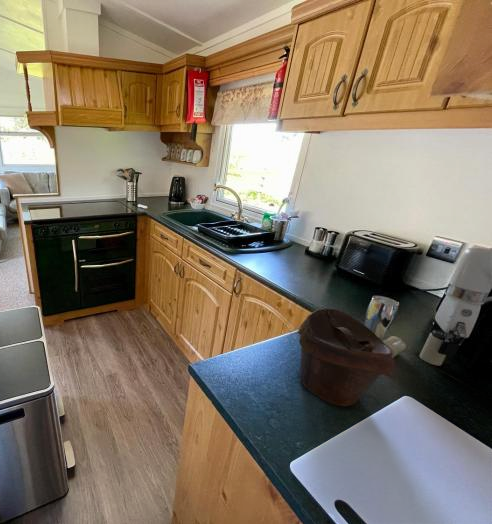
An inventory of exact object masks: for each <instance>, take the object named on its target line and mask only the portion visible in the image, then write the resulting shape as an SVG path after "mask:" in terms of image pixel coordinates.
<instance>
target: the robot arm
mask: <svg viewBox="0 0 492 524" xmlns="http://www.w3.org/2000/svg"><path fill="white" fill-rule="evenodd" d="M491 291H492V249H489V248H482V247H469V248H466V249H465V250H464V251H463V252H462V255H461V257H460V258H459V261H458V263H457V265H456V267H455V269H454V271H453V274H452V276H451V278H450V280H449V282H448V283H447V286H446V288H445V291H444V295H445V296H444V298H443V299H442V302H441V303H440V305H439V307H438V309H437V311H436V314H435V317H434V320H433V321H432V324H431V327H430V328H429V330H428V332H427V337H428V336H429V334H430V333H432V332H433V330H441V331H444V332H445V333H446V338H445V340H443V341H442V343H441V345H440V347H439V349H438V353H440V354H443V355H447V356H446V357H450V358H454V357H455V355H456V353H457V351H458V349H459V347H460V346H461V345H462V344H463V343H464V341H465V340H466V339H467V338H470V336H471V334H472V331H473V329H474V327H475V324H476V322H477V320H478V318H479V315H480V312H481V307H482V305H484V304H485V302H486V300H487V298H488V296H489V294H490V292H491ZM451 335H453V336H454V337H452V338H450V336H451Z"/></svg>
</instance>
